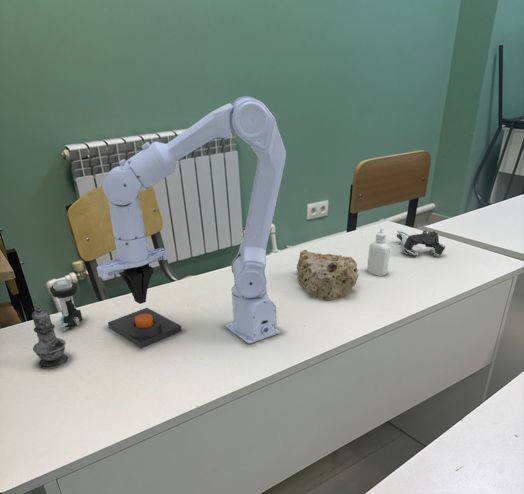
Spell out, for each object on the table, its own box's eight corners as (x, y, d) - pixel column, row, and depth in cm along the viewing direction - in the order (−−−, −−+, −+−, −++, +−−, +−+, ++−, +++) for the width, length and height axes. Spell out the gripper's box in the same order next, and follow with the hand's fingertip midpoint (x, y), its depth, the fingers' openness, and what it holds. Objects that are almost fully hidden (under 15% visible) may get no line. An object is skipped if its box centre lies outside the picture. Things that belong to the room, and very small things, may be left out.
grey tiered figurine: (37, 357, 94) (20, 302, 88) (68, 350, 96) (54, 296, 90) (37, 372, 90) (20, 315, 83) (70, 365, 92) (55, 309, 85)
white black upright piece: (74, 334, 102) (63, 291, 97) (51, 332, 103) (39, 289, 98) (89, 319, 108) (79, 278, 103) (67, 318, 109) (57, 277, 104)
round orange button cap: (156, 324, 99) (155, 317, 98) (142, 330, 97) (140, 323, 96) (147, 319, 101) (146, 311, 100) (132, 325, 99) (131, 317, 98)
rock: (287, 275, 130) (295, 239, 126) (336, 283, 133) (346, 248, 130) (304, 299, 112) (315, 257, 108) (361, 308, 115) (373, 267, 111)
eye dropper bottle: (381, 268, 131) (386, 225, 125) (388, 276, 127) (394, 231, 120) (365, 269, 131) (370, 226, 125) (372, 277, 126) (377, 232, 120)
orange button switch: (181, 331, 102) (180, 318, 101) (141, 348, 96) (139, 335, 95) (147, 312, 110) (145, 300, 109) (108, 327, 104) (106, 314, 103)
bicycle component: (394, 233, 150) (397, 251, 138) (406, 213, 146) (410, 229, 134) (428, 249, 151) (434, 268, 138) (441, 229, 147) (448, 246, 134)
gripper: (150, 223, 96) (159, 285, 103) (83, 240, 88) (97, 307, 95) (171, 230, 92) (178, 294, 99) (102, 248, 83) (116, 318, 90)
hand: (140, 301), depth 96 cm, fingers closed
